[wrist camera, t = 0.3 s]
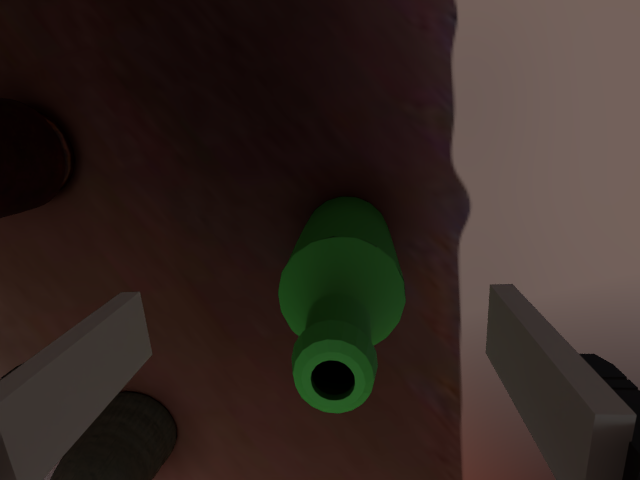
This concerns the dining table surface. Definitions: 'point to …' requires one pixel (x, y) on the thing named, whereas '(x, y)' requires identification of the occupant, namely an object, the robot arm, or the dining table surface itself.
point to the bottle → (341, 302)
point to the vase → (31, 158)
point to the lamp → (121, 442)
